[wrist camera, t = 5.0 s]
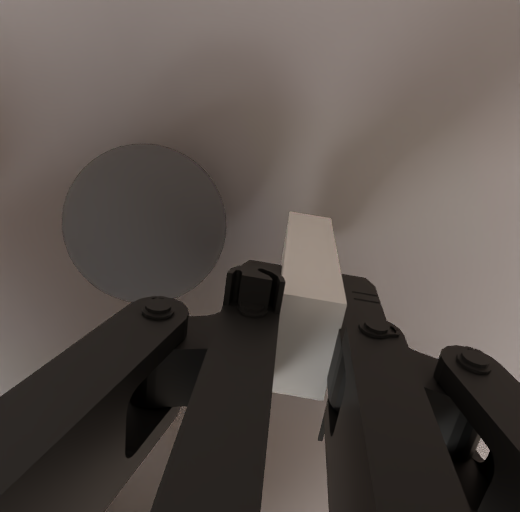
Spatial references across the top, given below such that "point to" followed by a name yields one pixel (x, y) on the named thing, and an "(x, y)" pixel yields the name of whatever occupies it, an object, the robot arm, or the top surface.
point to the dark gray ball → (143, 222)
